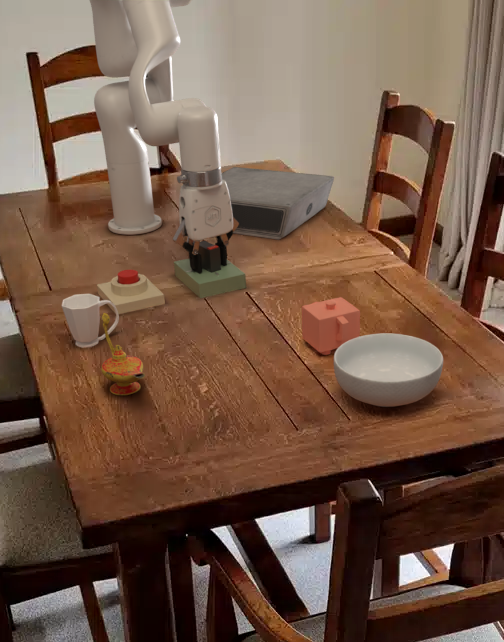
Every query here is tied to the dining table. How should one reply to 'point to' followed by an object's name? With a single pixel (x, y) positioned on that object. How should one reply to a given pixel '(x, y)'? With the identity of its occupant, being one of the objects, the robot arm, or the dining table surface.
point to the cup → (85, 318)
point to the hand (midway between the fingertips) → (209, 266)
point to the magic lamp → (121, 368)
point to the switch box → (131, 294)
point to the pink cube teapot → (330, 324)
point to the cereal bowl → (387, 368)
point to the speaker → (274, 199)
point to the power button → (128, 277)
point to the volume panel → (210, 279)
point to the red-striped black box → (210, 256)
